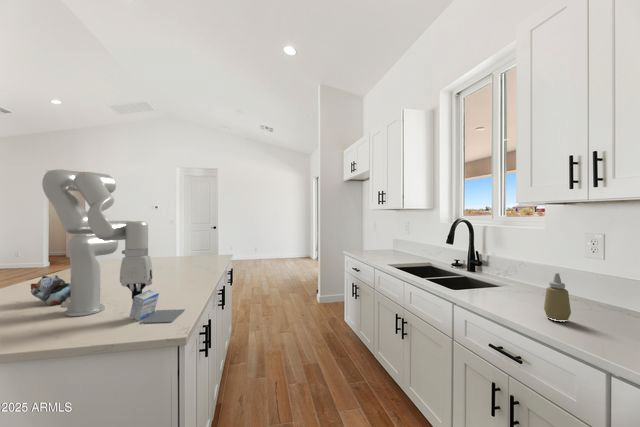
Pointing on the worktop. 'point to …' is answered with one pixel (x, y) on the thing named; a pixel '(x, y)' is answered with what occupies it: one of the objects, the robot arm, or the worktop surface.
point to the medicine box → (144, 304)
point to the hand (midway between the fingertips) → (137, 300)
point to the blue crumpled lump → (51, 290)
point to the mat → (163, 316)
